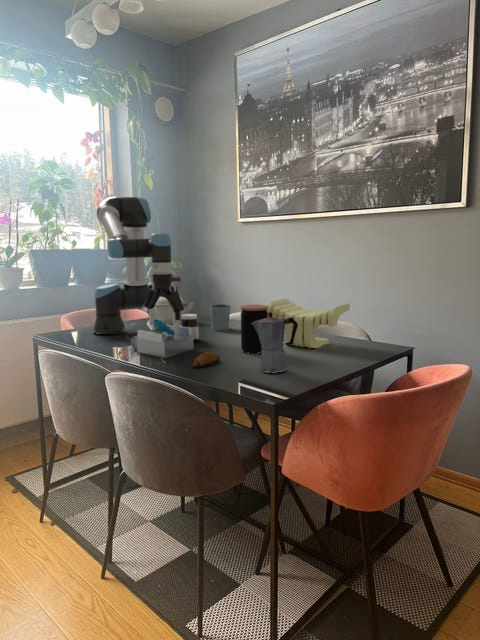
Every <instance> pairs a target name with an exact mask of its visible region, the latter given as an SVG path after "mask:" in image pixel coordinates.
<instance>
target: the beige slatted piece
mask: <svg viewBox="0 0 480 640" xmlns="http://www.w3.org/2000/svg"><path fill="white" fill-rule="evenodd" d="M350 305H351V303H346V304H343V305H338V306H336V307H333V308H331V309H330V308H329V310H327V311H316V310H315V311H314V310H312V311H311V310H309V309H306V308H302V307H301V306H299V305H296V304H295V303H293V302H291V301H290V300H289V299H287V298H282V299H278V300H274V301H270V302H269V303H268V304H267V306H268V309H267V312H268V313H270V312H271V313H272V317H273V318H279V319H284V318H287V319H288V318H291V317H292V318H293V319H294V320H295V321H296V322H297V324H298V327H297V330H296V333H295V337H294V340H293V344H292V345H293V346H292V347H297V346H300V347H299V348H304V347H308V348H307V349H311V348H315V347H318V346H320V345H323V344H326V343H329V342H330V340H329V338H323V337H318V336H317V337H316V333H317V330H318V329H319V327H320V326H328V327H330V328H334V327H337V326H338V321H339V319H340V316H342V315H343V314H345V312H348V311H350V307H351V306H350ZM268 317H269V316H268ZM293 327H294V324H293V323H289V324H285V329H284V333H285V336H286V339H285V340H286V343H288V342H290V339H291V335H292V331H293ZM294 345H295V346H294Z"/></svg>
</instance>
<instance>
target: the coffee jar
mask: <svg viewBox="0 0 480 640" xmlns="http://www.w3.org/2000/svg"><path fill="white" fill-rule="evenodd" d="M240 309H241V312H240V334H241V335H240V341H241V342H240V346H241V347H240V348H241V350H242V352H243V351H244V352H243V353H245V352H249V353H258V352H261V351H262V346H261V343H260V340H259V335H258V333H257V332H256V330H255V328H254V326H253V325H252V323H253V322H254V321H258V320H261V319H265V318H268V312H267V309H268V305H265V304H245V305H241V306H240Z"/></svg>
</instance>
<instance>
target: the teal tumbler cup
mask: <svg viewBox="0 0 480 640" xmlns="http://www.w3.org/2000/svg"><path fill="white" fill-rule="evenodd" d="M209 312H210V321H211V322H210V323H211V324H210V325H211V331H214V332H225V331H228V330H229V329H230V315H231V305H230V304H225V303H223V304H220V303H219V304H218V303H217V304H211V305H209Z"/></svg>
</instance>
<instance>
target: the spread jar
mask: <svg viewBox="0 0 480 640" xmlns="http://www.w3.org/2000/svg"><path fill="white" fill-rule="evenodd" d="M181 317H182V320H181V323H180V324H179V326H182V327H189V328H191V333H192V335H193V343H196V342H198V341H199V339H200V335H199V320H198V315H197V314H196V313H188V314H184V315H181Z"/></svg>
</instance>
